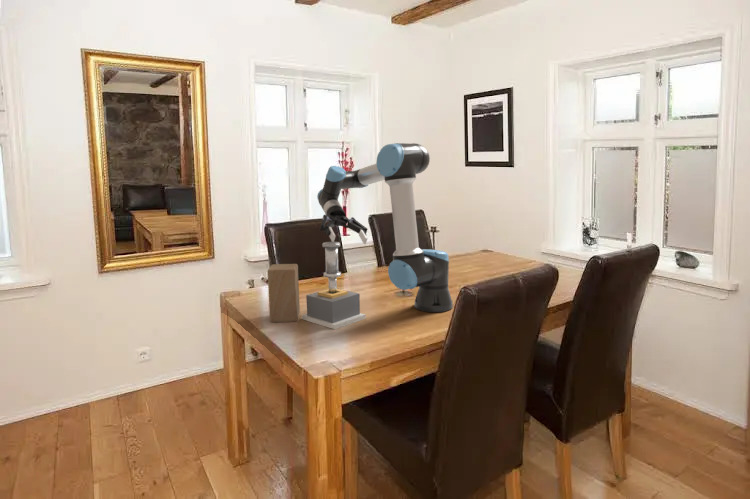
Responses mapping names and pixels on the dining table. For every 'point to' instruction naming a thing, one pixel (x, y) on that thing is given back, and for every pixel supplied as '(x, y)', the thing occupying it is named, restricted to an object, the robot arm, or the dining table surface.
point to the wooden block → (283, 292)
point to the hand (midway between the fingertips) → (350, 240)
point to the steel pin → (332, 264)
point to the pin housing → (333, 308)
